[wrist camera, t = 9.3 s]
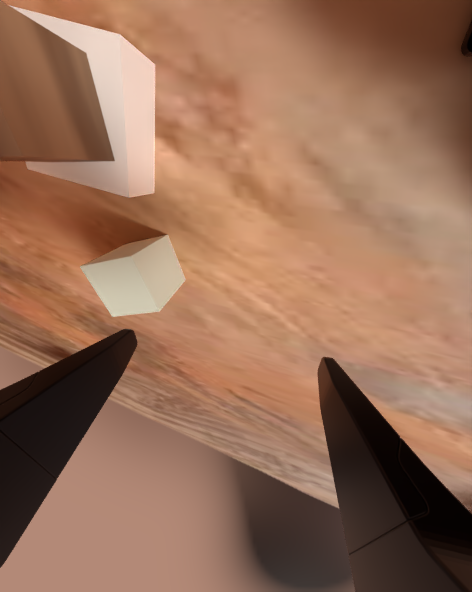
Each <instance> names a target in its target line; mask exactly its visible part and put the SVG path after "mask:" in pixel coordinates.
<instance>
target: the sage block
mask: <svg viewBox="0 0 472 592" xmlns="http://www.w3.org/2000/svg"><path fill="white" fill-rule="evenodd" d="M80 268H81V269H82V271H83V272H84V274H85V275H86V277H87V279H88V280H89V282H90V283H91V285H92V286H93V288H94V289H95V291H96V292H97V294H98V295H99V297H100V299H101V300H102V302H103V303H104V305H105V306H106V308H107V309H108V311H109V312H110V314H111V315H112V317H115V316H124V315H133V314H142V313H151V312H159V311H160V310H161V309H162V308H163V307H164V305H165V304H166V303H167V302H168V301H169V299H170V298H171V297H172V296H173V295H174V293H175V292H176V291H177V290H178V289H179V287H180V286H181V285H182V284H183V283H184V281H185V280H186V279H185V277H184V274H183V272H182V269H181V267H180V264H179V261H178V259H177V256H176V254H175V251H174V249H173V246H172V244H171V241H170V239H169V236H168V235H163V236H159V237H154V238H150V239H145V240H141V241H136V242H132V243H127V244H125V245H123V246H120V247H118V248H116V249H114V250H112V251H110V252H108V253H106V254H104V255H102V256H100V257H98V258H96V259H94V260H92V261H90V262H88V263H86V264H84V265H82V266H80Z"/></svg>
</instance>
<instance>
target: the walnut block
mask: <svg viewBox="0 0 472 592" xmlns="http://www.w3.org/2000/svg"><path fill="white" fill-rule="evenodd" d="M0 161H28V162H98V161H115V160H114V156H113V152H112V148H111V144H110V141H109V137H108V133H107V129H106V126H105V122H104V118H103V114H102V110H101V107H100V103H99V99H98V95H97V92H96V88H95V84H94V80H93V76H92V73H91V69H90V65H89V61H88V58H87V54H86V52H84V51H82V50H81V49H79V48H77V47H76V46H74V45H73V44H71V43H69V42H68V41H66V40H64V39H63V38H61V37H59V36H58V35H56V34H55V33H53V32H51V31H50V30H48V29H46V28H45V27H43V26H42V25H40V24H38V23H37V22H35V21H33V20H32V19H30V18H29V17H27V16H25V15H24V14H22V13H20V12H19V11H17V10H15V9H14V8H12V7H11V6H9V5H7V4H6V3H4V2H2V1H1V0H0Z"/></svg>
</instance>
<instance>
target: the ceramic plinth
mask: <svg viewBox="0 0 472 592" xmlns="http://www.w3.org/2000/svg"><path fill="white" fill-rule="evenodd" d="M9 6H10V5H9ZM11 7H12V8H14V9H15V10H17V11H19V12H20V13H22V14H24V15H25V16H27V17H29V18H30V19H32V20H33V21H35V22H37V23H38V24H40V25H42V26H43V27H45V28H46V29H48V30H50V31H51V32H53V33H55V34H56V35H58V36H59V37H61V38H63V39H64V40H66V41H68V42H69V43H71V44H73V45H74V46H76V47H77V48H79V49H81V50H82V51H84V52H86V54H87V58H88V61H89V65H90V69H91V73H92V76H93V80H94V84H95V88H96V92H97V95H98V99H99V103H100V107H101V110H102V114H103V118H104V122H105V126H106V129H107V133H108V137H109V141H110V144H111V148H112V152H113V156H114V160H115V161H98V162H28V161H25V162H26V166H27V169H29V170H32V171H36V172H39V173H43V174H46V175H50V176H53V177H57V178H61V179H64V180H68V181H71V182H75V183H78V184H82V185H85V186H89V187H92V188H96V189H100V190H103V191H107V192H110V193H114V194H117V195H121V196H124V197H128V198H131V197H136V196H142V195H147V194H152V193H154V188H155V64H154V63H153V62H152V61H150V60H149V59H148V58H147V57H146V56H144V55H143V54H142V53H141V52H140V51H139V50H137V49H136V48H135V47H134V46H133V45H132V44H130V43H129V42H128V41H127V40H126V39H125V38H123V37H122V36H121V35H120V34H116V33H113V32H109V31H105V30H101V29H97V28H94V27H90V26H86V25H82V24H78V23H75V22H71V21H67V20H63V19H59V18H56V17H52V16H48V15H44V14H40V13H37V12H33V11H29V10H25V9H21V8H17V7H14V6H11Z"/></svg>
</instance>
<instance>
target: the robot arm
mask: <svg viewBox="0 0 472 592" xmlns="http://www.w3.org/2000/svg"><path fill="white" fill-rule="evenodd" d="M461 49H462V53H463V55H465V56H472V22H471V24H470V27H469V29H468V31H467V34H466V36H465V39H464V41H463V44H462V48H461ZM136 347H137V339H136V336H135V333H134V331H133V330H131V329H123V330H121V331H119V332H117V333H115V334H113V335H111V336H109V337H107V338H105V339H103V340H101V341H99V342H97V343H95V344H93V345H91V346H89V347H87V348H85V349H83V350H81V351H79V352H77V353H75V354H73V355H71V356H69V357H67V358H65V359H63V360H61V361H59V362H57V363H55V364H53V365H51V366H49V367H47V368H45V369H43V370H41V371H40V372H37V373H35V374H33V375H31V376H29V377H27V378H25V379H22V380H21V381H18V382H16V383H14V384H12V385H10V386H8V387H6V388H3V389H1V390H0V568H1V566H2V565H3V564H4V562H5V561H6V560H7V558H8V556H9V555H10V553H11V552H12V550H13V549H14V547H15V545H16V543H17V542H18V541H19V539H20V537H21V536H22V534H23V533H24V531H25V529H26V528H27V526H28V524H29V523H30V521H31V520H32V518H33V517H34V515H35V513H36V512H37V510H38V509H39V507H40V505H41V504H42V502H43V501H44V499H45V498H46V496H47V494H48V493H49V491H50V490H51V488H52V486H53V485H54V483H55V482H56V480H57V478H58V477H59V475H60V473H61V472H62V470H63V469H64V467H65V465H66V464H67V462H68V461H69V459H70V458H71V456H72V454H73V452H74V451H75V449H76V448H77V446H78V445H79V443H80V441H81V440H82V438H83V437H84V435H85V434H86V432H87V430H88V429H89V427H90V426H91V424H92V422H93V421H94V419H95V418H96V416H97V414H98V413H99V411H100V410H101V408H102V407H103V405H104V403H105V402H106V400H107V399H108V397H109V395H110V394H111V392H112V391H113V389H114V387H115V386H116V384H117V383H118V381H119V379H120V378H121V376H122V374H123V373H124V371H125V369H126V367H127V365H128V363H129V361H130V359H131V357H132V355H133V353H134V351H135V349H136ZM318 385H319V398H320V409H321V415H322V420H323V425H324V430H325V436H326V441H327V446H328V451H329V456H330V462H331V467H332V472H333V477H334V482H335V488H336V493H337V498H338V503H339V508H340V514H341V519H342V524H343V529H344V534H345V540H346V544H347V550H348V553H349V561H350V566H351V571H352V577H353V581H354V587H355V592H472V514H471V513H470V512H469V511H468V510H467V508H466V507H465V506H464V505H463V504H462V503H461V502H460V501H459V500H458V499H457V498H456V497H455V496H454V495H453V494H452V493H451V492H450V491H449V490H448V489H447V488H446V487H445V486H444V485H443V484H442V483H441V481H440V480H439V479H438V478H437V477H436V476H435V475H434V474H433V473H432V472H431V471H430V470H429V469H428V468H427V467H426V465H425V464H424V463H423V462H422V461H421V460H420V459H419V458H418V456H417V455H416V454H415V453H414V452H413V451H412V450H411V448H410V447H409V446H408V445H407V444H406V443H405V441H404V440H403V439H402V438H400V436H399V435H398V433H397V432H396V431H395V430H394V429H393V428H392V426H391V425H390V424H389V423H388V422H387V421H386V419H385V418H384V417H383V416H382V415H381V414H380V412H379V411H378V410H377V409H376V408H375V407H374V405H373V404H372V403H371V402H370V401H369V400H368V398H367V397H366V396H365V395H364V394H363V393H362V391H361V390H360V389H359V388H358V387H357V386H356V384H355V383H354V382H353V381H352V380H351V379H350V377H349V376H348V375H347V374H346V373H345V372H344V370H343V369H342V368H341V367H340V366H339V365H338V363H337V362H336V361H335V360H334V359H333V358H329V357H323V358H322V359H321V362H320V365H319V368H318Z"/></svg>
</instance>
